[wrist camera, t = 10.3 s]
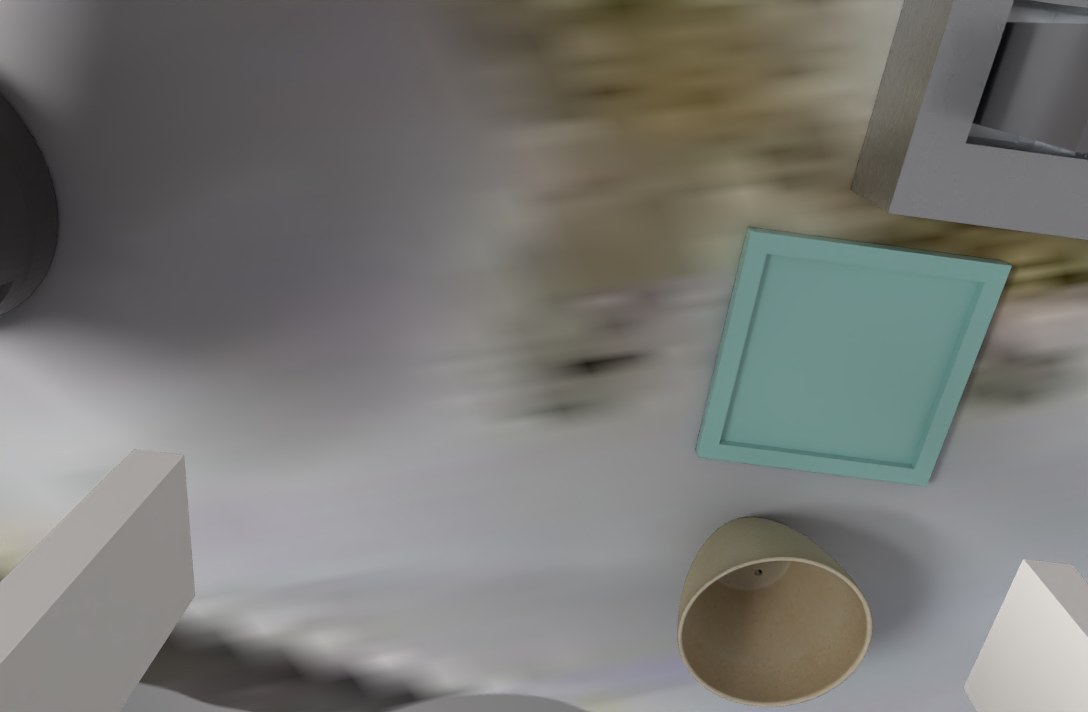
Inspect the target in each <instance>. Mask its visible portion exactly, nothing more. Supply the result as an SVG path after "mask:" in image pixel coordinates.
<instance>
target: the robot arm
mask: <svg viewBox="0 0 1088 712" xmlns="http://www.w3.org/2000/svg"><path fill="white" fill-rule="evenodd" d="M57 230H58V215H57V205H56V199H55V193H54V189H53V185H52V181H51V178H50V175H49V172H48V169H47V167H46V164H45V161H44V159H43V157H42V155H41V153H40V150H39V148H38V146H37V145H36V143H35V141H34V139H33V137H32V136H31V134H30V132H29V131H28V129H27V127H26V126H25V124H24V123H23V122H22V120H21V119H20V117H19V116H18V115H17V113H16V112H15V111H14V109H13V108H12V107H11V106H10V104H9V103H8V102H7V101H6V100H5V99H4V98H3V97H2V95H1V94H0V315H2V314H4V313H6V312H8V311H10V310H12V309H13V308H15V307H16V306H18V305H19V304H21V303H22V302H23V301H25V300H26V299H27V298H28V297H29V296H30V295H31V294H32V293H33V292H34V291H35V289H36V288H37V287H38V286H39V284H40V283H41V281H42V280H43V278H44V276H45V275H46V273H47V271H48V269H49V266H50V264H51V261H52V258H53V255H54V251H55V247H56V240H57ZM194 596H195V587H194V574H193V562H192V549H191V536H190V524H189V511H188V498H187V486H186V473H185V460H184V455H178V454H170V453H162V452H154V451H146V450H137V449H134V450H133V451H132V452H131V453H130V454H129V455H128V456H127V457H126V458H125V459H124V460H123V461H122V462H121V463H120V464H119V465H118V466H117V467H116V468H115V469H114V470H113V471H112V472H111V473H110V474H109V475H108V476H107V477H106V478H105V479H104V480H103V481H102V482H101V483H100V484H99V485H98V486H97V487H96V488H95V489H93V490H92V491H91V492H90V493H89V494H88V495H87V496H86V497H85V498H84V499H83V500H82V501H81V502H80V503H79V504H78V505H77V506H76V507H75V508H74V509H73V510H72V511H71V512H70V513H69V514H68V515H67V516H66V517H65V518H64V519H63V520H62V521H61V522H60V523H59V524H58V525H57V526H56V527H55V528H54V529H53V530H52V531H51V532H50V533H49V534H48V535H47V536H46V537H45V538H44V539H43V540H42V541H41V542H40V543H39V544H38V545H37V546H36V547H35V548H34V549H33V550H32V551H31V552H30V553H29V554H28V555H27V556H26V557H25V558H24V559H23V560H22V561H21V562H20V563H19V564H18V565H17V566H16V567H15V568H14V569H13V570H12V571H11V572H10V573H9V574H8V575H7V576H6V577H5V578H4V579H3V580H2V581H1V582H0V712H120V710H121V709H122V707H123V706H124V704H125V702H126V701H127V699H128V698H129V696H130V695H131V693H132V692H133V690H134V689H135V687H136V686H137V684H138V682H139V681H140V679H141V678H142V676H143V675H144V673H145V672H146V670H147V669H148V667H149V666H150V664H151V662H152V661H153V659H154V658H155V656H156V655H157V653H158V652H159V650H160V649H161V647H162V646H163V644H164V642H165V641H166V639H167V638H168V636H169V635H170V633H171V632H172V630H173V629H174V627H175V626H176V624H177V623H178V621H179V619H180V618H181V616H182V615H183V613H184V612H185V610H186V609H187V607H188V606H189V604H190V603H191V601H192V599H193V598H194ZM963 688H964V690H965V692H966V693H967V695H968V697H969V699H970V700H971V702H972V704H973V706H974V707H975V709H976V711H977V712H1088V583H1087V581H1086V580H1085V579H1084V578H1083V577H1082V576H1081V575H1080V574H1079V573H1078V571H1077V570H1076V569H1075V568H1074V567H1073V566H1072V565H1070V564H1062V563H1053V562H1045V561H1037V560H1029V559H1023V561H1022V563H1021V565H1020V567H1019V569H1018V572H1017V574H1016V576H1015V578H1014V580H1013V582H1012V584H1011V587H1010V589H1009V591H1008V593H1007V595H1006V597H1005V599H1004V602H1003V604H1002V606H1001V608H1000V610H999V612H998V614H997V617H996V619H995V621H994V623H993V625H992V627H991V629H990V632H989V634H988V636H987V638H986V640H985V642H984V644H983V647H982V649H981V651H980V653H979V655H978V657H977V660H976V662H975V664H974V666H973V668H972V670H971V672H970V675H969V677H968V679H967V681H966V683H965V685H964V687H963Z"/></svg>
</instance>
